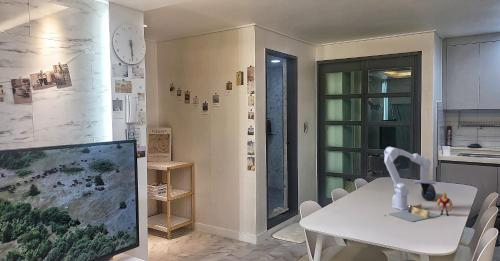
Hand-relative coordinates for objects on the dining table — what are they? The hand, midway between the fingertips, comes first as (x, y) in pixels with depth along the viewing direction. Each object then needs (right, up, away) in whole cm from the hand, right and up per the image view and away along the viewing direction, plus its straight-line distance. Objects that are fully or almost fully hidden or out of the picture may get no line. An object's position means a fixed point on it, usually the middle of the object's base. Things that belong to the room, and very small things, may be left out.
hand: (424, 194), depth 254 cm
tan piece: (-12, -10, -19) cm, 25 cm away
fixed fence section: (-11, -9, -10) cm, 17 cm away
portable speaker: (+15, -8, +27) cm, 32 cm away
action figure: (+4, -11, -19) cm, 22 cm away
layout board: (-16, -11, -18) cm, 26 cm away
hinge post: (-16, -11, -12) cm, 23 cm away
